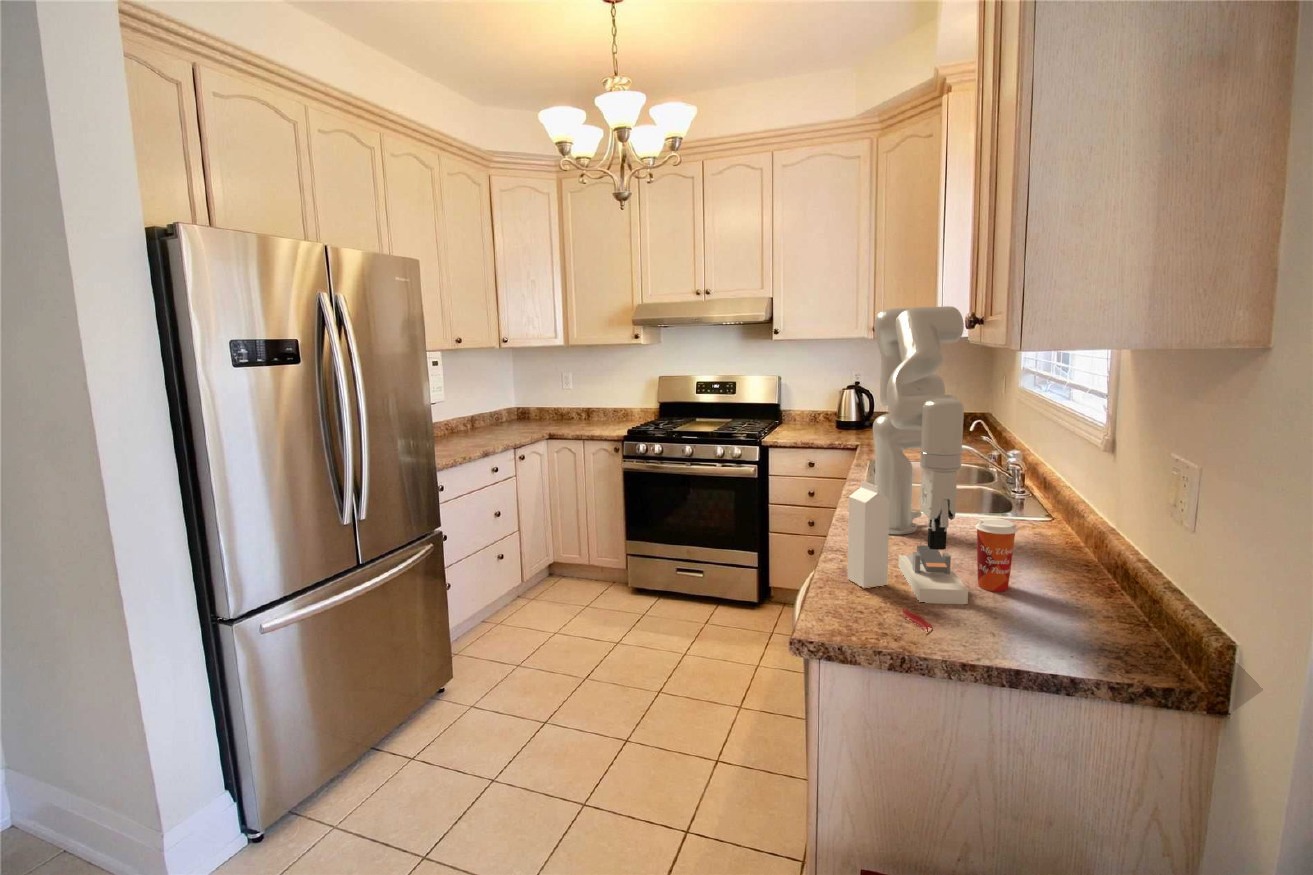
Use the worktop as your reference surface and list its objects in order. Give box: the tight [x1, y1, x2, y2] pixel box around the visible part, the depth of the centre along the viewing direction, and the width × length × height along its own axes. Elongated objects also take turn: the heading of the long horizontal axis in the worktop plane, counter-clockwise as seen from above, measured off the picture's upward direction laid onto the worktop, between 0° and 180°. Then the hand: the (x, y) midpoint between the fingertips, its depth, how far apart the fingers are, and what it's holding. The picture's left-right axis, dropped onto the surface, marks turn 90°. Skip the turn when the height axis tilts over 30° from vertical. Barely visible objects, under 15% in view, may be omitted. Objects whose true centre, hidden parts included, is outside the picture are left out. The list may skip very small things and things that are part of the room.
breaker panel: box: [897, 551, 969, 605], centre depth 139 cm, size 20×9×7 cm, turn 171°
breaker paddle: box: [915, 545, 947, 573], centre depth 138 cm, size 9×4×1 cm, turn 171°
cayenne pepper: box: [902, 608, 933, 632], centre depth 122 cm, size 12×5×2 cm, turn 171°
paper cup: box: [974, 517, 1018, 593], centre depth 136 cm, size 8×8×14 cm
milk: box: [846, 480, 890, 587], centre depth 139 cm, size 6×6×22 cm
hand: (936, 548), depth 134 cm, fingers closed
